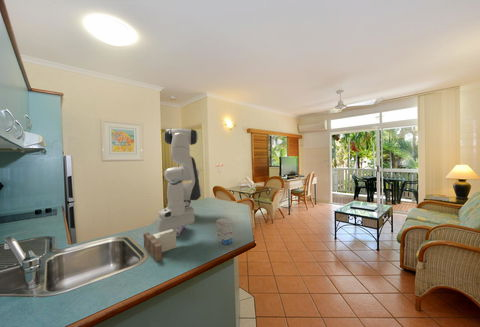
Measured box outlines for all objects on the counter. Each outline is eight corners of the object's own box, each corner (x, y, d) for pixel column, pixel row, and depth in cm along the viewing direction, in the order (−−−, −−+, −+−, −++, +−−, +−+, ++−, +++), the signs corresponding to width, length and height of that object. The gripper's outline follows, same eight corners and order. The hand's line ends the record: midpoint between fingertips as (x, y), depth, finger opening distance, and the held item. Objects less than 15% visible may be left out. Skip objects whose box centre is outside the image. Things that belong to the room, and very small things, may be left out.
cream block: (153, 249, 100) (152, 234, 100) (171, 243, 107) (171, 229, 106) (157, 254, 96) (156, 238, 95) (176, 247, 102) (176, 232, 102)
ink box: (232, 242, 107) (232, 221, 106) (226, 245, 104) (225, 223, 103) (223, 237, 113) (222, 217, 113) (216, 240, 110) (215, 219, 109)
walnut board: (144, 246, 104) (143, 233, 103) (148, 244, 105) (148, 232, 105) (156, 261, 89) (156, 246, 89) (162, 259, 91) (161, 245, 90)
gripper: (191, 205, 114) (191, 228, 115) (155, 212, 100) (156, 238, 101) (196, 207, 109) (197, 231, 110) (159, 215, 95) (160, 242, 96)
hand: (177, 235), depth 105 cm, fingers closed
